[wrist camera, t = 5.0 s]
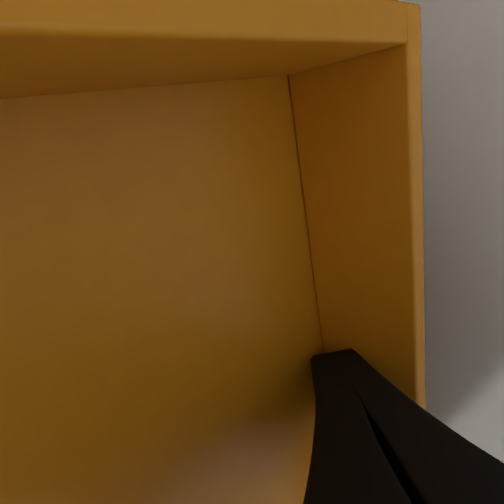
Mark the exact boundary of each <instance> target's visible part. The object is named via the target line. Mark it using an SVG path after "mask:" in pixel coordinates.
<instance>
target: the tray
mask: <svg viewBox="0 0 504 504" xmlns="http://www.w3.org/2000/svg"><path fill="white" fill-rule="evenodd" d="M351 348H352V349H353V350H354V351H356V352H357V353H358V354H359V355H360V356H361V357H362V358H364V359H365V360H366V361H367V362H368V363H369V364H370V365H371V366H372V367H373V368H375V369H376V370H377V371H378V372H379V373H380V374H381V375H383V376H384V377H385V378H386V379H387V380H388V381H390V382H391V383H392V384H393V385H394V386H395V387H397V388H398V389H399V390H400V391H402V392H403V393H404V394H405V395H407V396H408V397H409V398H410V399H412V400H413V401H414V402H415V403H417V404H418V405H419V406H420V407H422V408H423V409H424V410H426V381H425V309H424V237H423V165H422V93H421V22H420V6H419V5H417V4H412V3H407V2H402V1H398V0H0V504H303V501H304V496H305V491H306V485H307V480H308V474H309V468H310V461H311V454H312V445H313V435H314V425H315V392H314V385H313V378H312V371H311V364H310V359H311V358H312V357H313V356H314V355H318V354H324V353H329V352H334V351H340V350H345V349H351Z"/></svg>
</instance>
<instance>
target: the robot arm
mask: <svg viewBox="0 0 504 504" xmlns="http://www.w3.org/2000/svg"><path fill="white" fill-rule="evenodd" d="M310 364H311V371H312V378H313V385H314V392H315V425H314V435H313V445H312V454H311V461H310V468H309V474H308V480H307V485H306V491H305V496H304V501H303V504H504V463H502V462H501V461H499V460H498V459H496V458H494V457H493V456H491V455H490V454H488V453H486V452H485V451H483V450H482V449H480V448H478V447H477V446H475V445H474V444H472V443H471V442H469V441H468V440H466V439H465V438H463V437H462V436H460V435H459V434H458V433H456V432H455V431H453V430H452V429H450V428H449V427H448V426H446V425H445V424H443V423H442V422H441V421H439V420H438V419H437V418H435V417H434V416H432V415H431V414H430V413H428V412H427V411H426V410H424V409H423V408H422V407H420V406H419V405H418V404H417V403H415V402H414V401H413V400H412V399H410V398H409V397H408V396H407V395H405V394H404V393H403V392H402V391H400V390H399V389H398V388H397V387H395V386H394V385H393V384H392V383H391V382H390V381H388V380H387V379H386V378H385V377H384V376H383V375H381V374H380V373H379V372H378V371H377V370H376V369H375V368H373V367H372V366H371V365H370V364H369V363H368V362H367V361H366V360H365V359H364V358H362V357H361V356H360V355H359V354H358V353H357V352H356V351H354V350H353V349H352V348H351V349H345V350H340V351H334V352H329V353H324V354H318V355H314V356H313V357H312V358H311V359H310Z"/></svg>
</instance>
